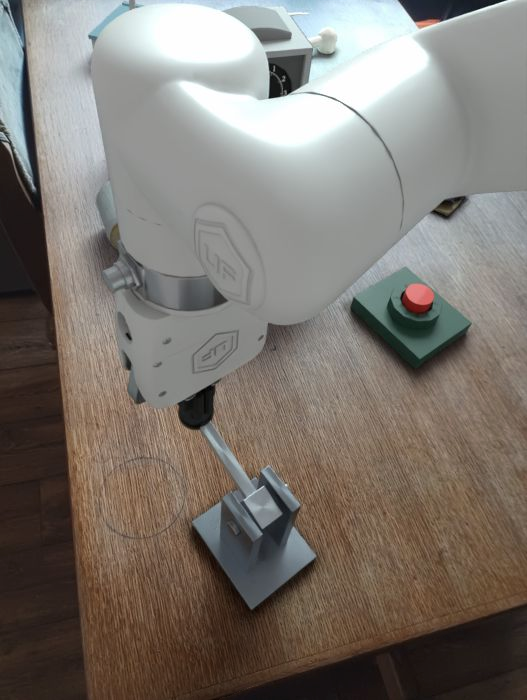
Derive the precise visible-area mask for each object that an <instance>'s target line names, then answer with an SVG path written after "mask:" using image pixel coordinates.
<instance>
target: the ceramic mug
mask: <svg viewBox="0 0 527 700" xmlns="http://www.w3.org/2000/svg"><path fill="white" fill-rule="evenodd" d="M95 203H96V208H97V211H98V213H99V217H100V219H101V222H102V225H103V228H104V231H105V234H106V237H107V239H108V240H109V242H110V244H111V246H113V249H116V250H117V251H118V252H119V250H118V244H117V241H118V240H120V233H119V227H118V222H117V217H116V211H115V206H114V201H113V195H112V190H111V184H110V180H109V181H107V182H105V183H104V184H102V186H101V187H100V188H99V190H98V191H97V194H96V197H95Z"/></svg>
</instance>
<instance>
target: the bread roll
mask: <svg viewBox="0 0 527 700" xmlns="http://www.w3.org/2000/svg"><path fill="white" fill-rule="evenodd" d="M465 197H466V196H459V197H453V198H449V199H445V200H443V201H442V202H441V203H440V204H439V205H438V206H437V207H436V208H435V209H433V210H432V211H435V212H437V213H440V214H442V215H445V216H446V217H448V216H449V215H451V214H452V213H453V212H454V211H455V210H456V209H457V207H459V205H460V204H461V203H462V200H463V199H465Z"/></svg>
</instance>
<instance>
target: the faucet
mask: <svg viewBox="0 0 527 700" xmlns="http://www.w3.org/2000/svg"><path fill="white" fill-rule="evenodd" d="M288 14H289V15H290V16H291V17H294V16H304V15H305V16H306V15H309V14H310V13H309V12H288ZM307 39H308V40H309V41H310V43H311V44H312V46H313V49H314V48H317V51H318V52H319V53H320V54H325V55H331V54H333V53H335V50H336V46H337V42H338V34H337V32H336V30H335V29H334V28H333V27H329V26H327V27H323V28H322V29H321V30H320V31H319V32H318V34H317V35H316V36H313V37H308V38H307Z"/></svg>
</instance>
